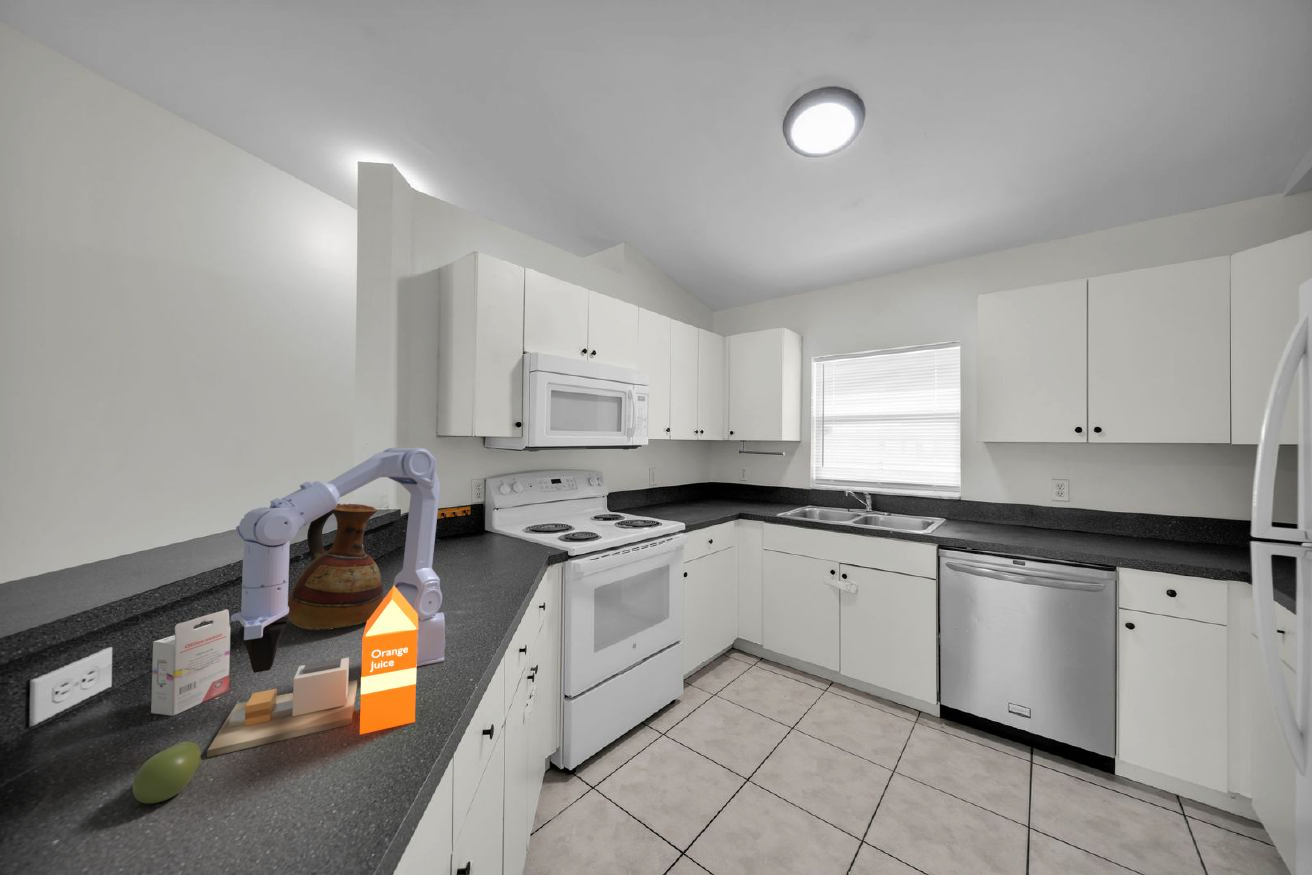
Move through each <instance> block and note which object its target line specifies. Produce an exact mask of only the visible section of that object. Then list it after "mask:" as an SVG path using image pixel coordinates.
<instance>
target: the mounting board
mask: <svg viewBox="0 0 1312 875" xmlns="http://www.w3.org/2000/svg"><path fill="white" fill-rule="evenodd" d="M348 689H349V695H348V701H347V703H346V705H343V706H339V707H334V708H329V709H325V710H320V711H315V712H311V713H306V714H302V715H297V716H293V715H288V716H284V717H279V718H274V719H271V720H270V721H268V722H263V723H258V724H254V725H249V726H245V725H241V726H237V727H232V728H229V721H230V719H231V718H232V716H233V714H234V713H235V712H237V711H242V710H245V706H246V705H247V703H248V701H249V700H247V701H243V702H239V703H236V704H235V706H234V707H233V708H232V710H231V712H230V713H229V715H228V716H227V718H226V720H225V721H224V723H223V725H222V726H221V728H220V729H219V730H218V732H217V735H216V736H215V737H214V739H213V741H212V742H211V744H210V745H209V746H208V748H207V753H206V754H207V755H206V756H207V757H206V758H210V757H212V758H213V757H216V756H220V755H224V754H229V753H233V752H238V751H242V750H246V749H249V748H254V747H258V746H262V745H268V744H272V743H274V742H275V743H276V742H278V741H279V742H281V741H283V740H285V741H286V740H288V739H293V738H297V737H302V736H306V735H310V734H314V733H319V732H324V731H327V730H332V729H335V728H341V727H344V726H348V725H352V722H353V715H354V709H355V703H356V696H357V692H358V691H357V690H358V679H357V680H352V681H348ZM291 700H293V692H290V693H284V694H280V695H277V697H276V704H277V703H282V702H287V701H291Z"/></svg>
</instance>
